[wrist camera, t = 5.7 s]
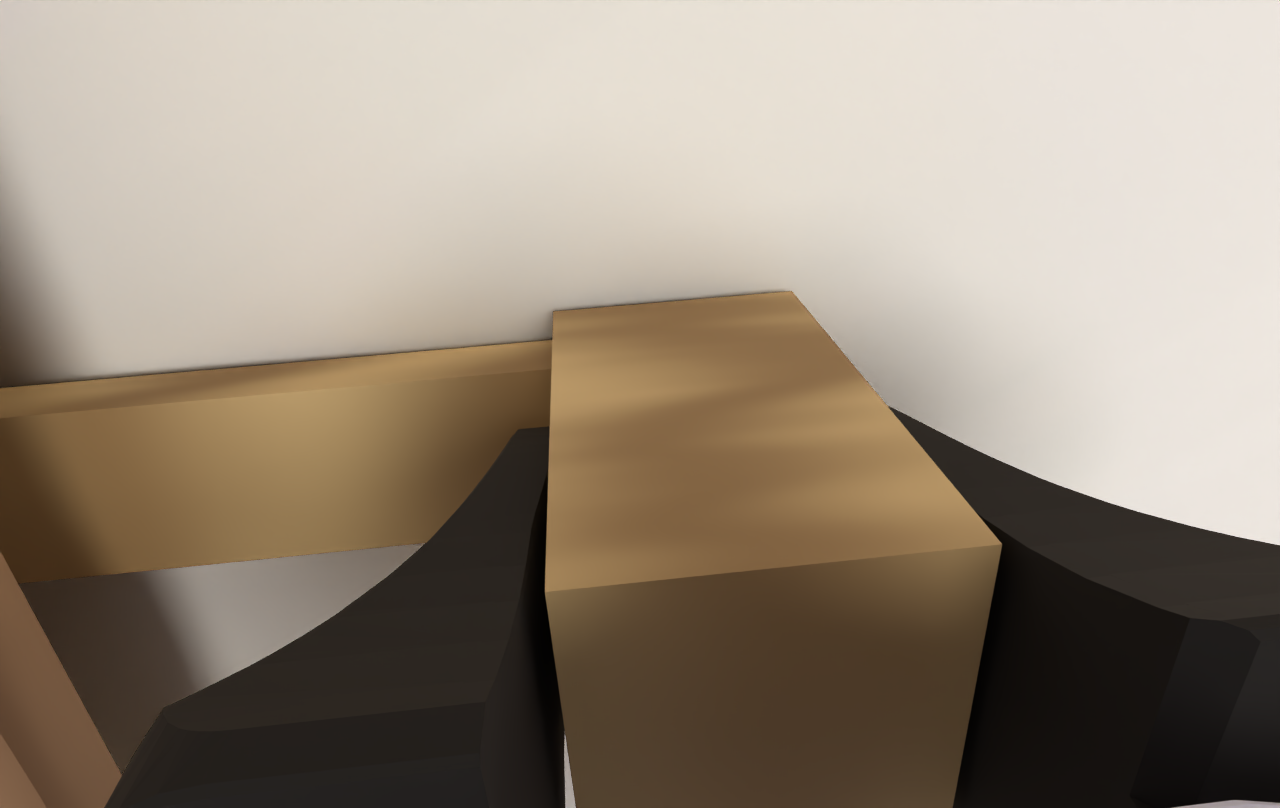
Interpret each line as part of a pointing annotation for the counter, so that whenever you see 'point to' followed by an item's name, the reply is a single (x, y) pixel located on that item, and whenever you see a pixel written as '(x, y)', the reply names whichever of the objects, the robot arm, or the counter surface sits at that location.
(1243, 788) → the robot arm
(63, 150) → the counter surface
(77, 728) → the shelf
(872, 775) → the tool
